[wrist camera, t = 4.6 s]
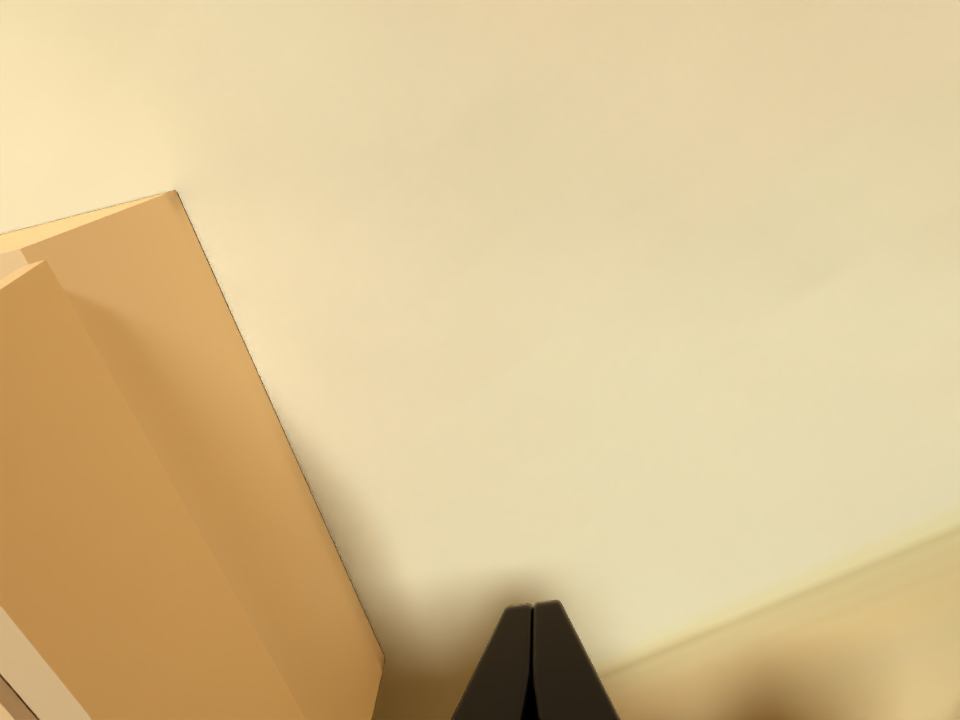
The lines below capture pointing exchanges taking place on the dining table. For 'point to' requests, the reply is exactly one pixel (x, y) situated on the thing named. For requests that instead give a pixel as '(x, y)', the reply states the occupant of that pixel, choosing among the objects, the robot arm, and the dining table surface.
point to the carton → (211, 440)
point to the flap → (105, 545)
